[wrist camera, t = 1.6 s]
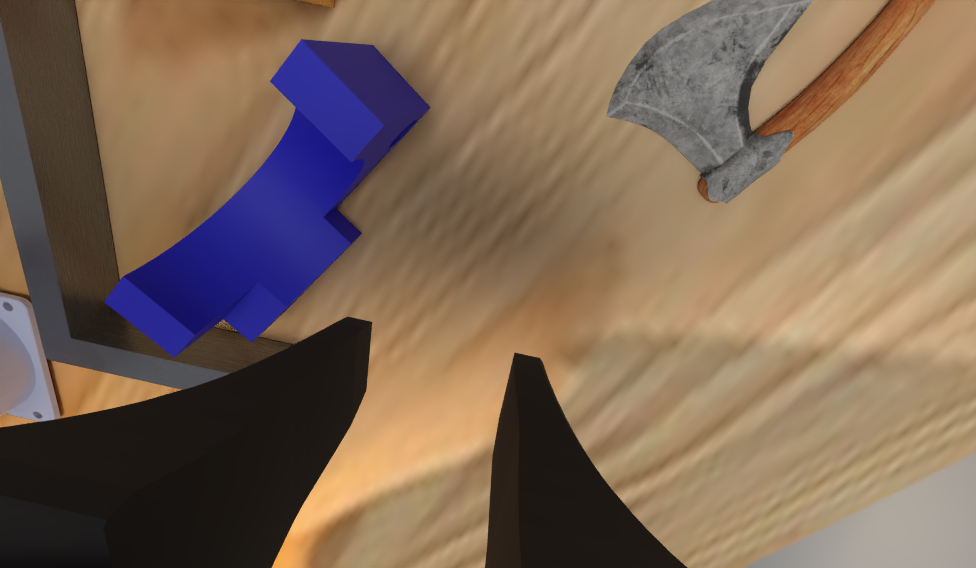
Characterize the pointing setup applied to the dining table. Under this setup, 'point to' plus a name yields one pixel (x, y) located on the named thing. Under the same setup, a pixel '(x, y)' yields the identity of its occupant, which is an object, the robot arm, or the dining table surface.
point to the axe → (742, 85)
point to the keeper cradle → (79, 210)
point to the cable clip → (279, 203)
